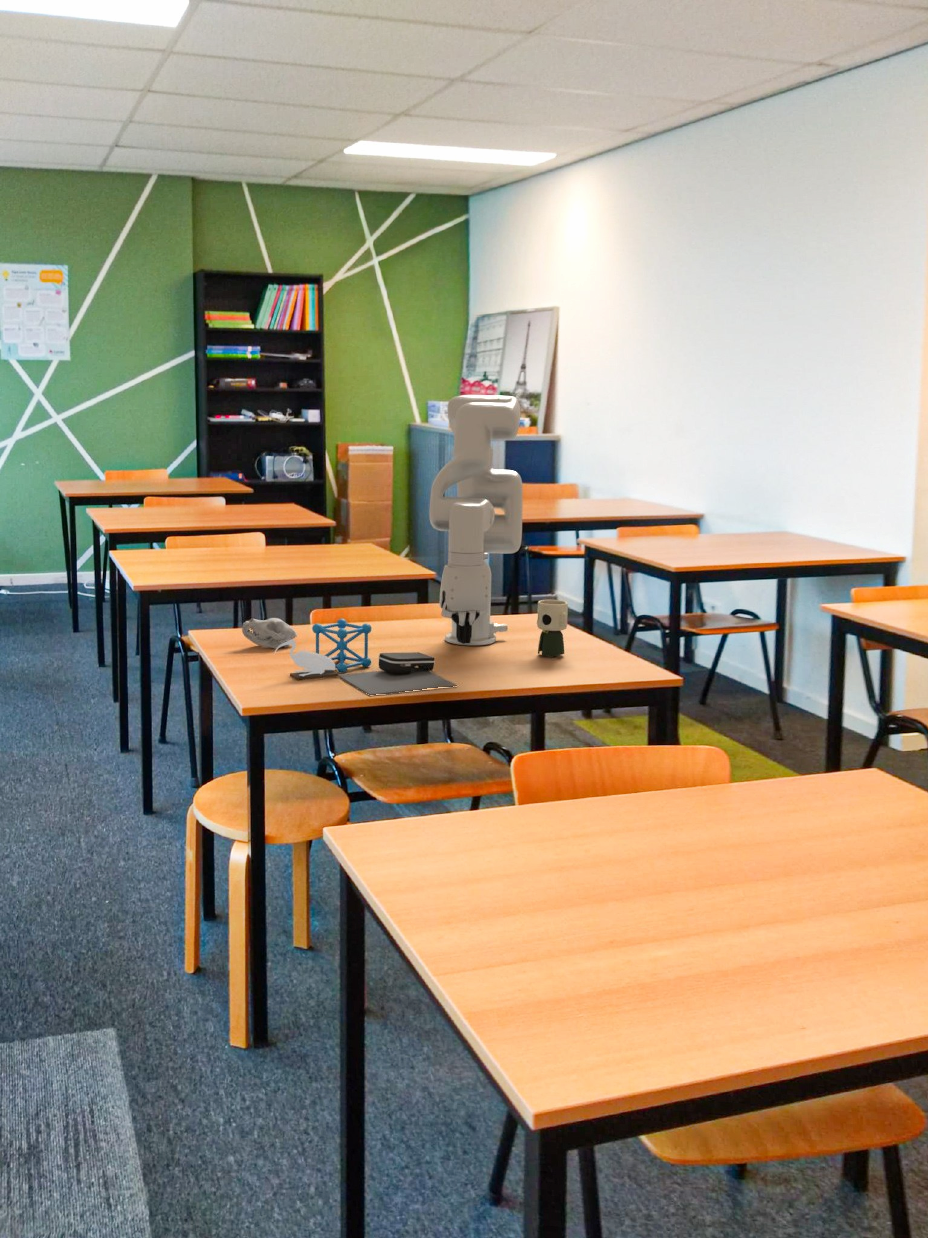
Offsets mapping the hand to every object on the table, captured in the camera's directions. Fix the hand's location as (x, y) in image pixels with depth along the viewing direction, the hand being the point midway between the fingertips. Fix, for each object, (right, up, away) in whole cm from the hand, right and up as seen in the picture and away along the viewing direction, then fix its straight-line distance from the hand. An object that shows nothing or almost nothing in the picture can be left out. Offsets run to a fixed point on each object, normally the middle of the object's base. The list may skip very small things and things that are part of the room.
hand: (463, 642), depth 274 cm
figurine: (-34, -8, -4) cm, 35 cm away
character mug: (+21, -4, +22) cm, 30 cm away
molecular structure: (-27, -6, +6) cm, 29 cm away
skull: (-46, -2, +25) cm, 53 cm away
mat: (-14, -8, -6) cm, 18 cm away
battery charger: (-8, -5, +5) cm, 11 cm away
